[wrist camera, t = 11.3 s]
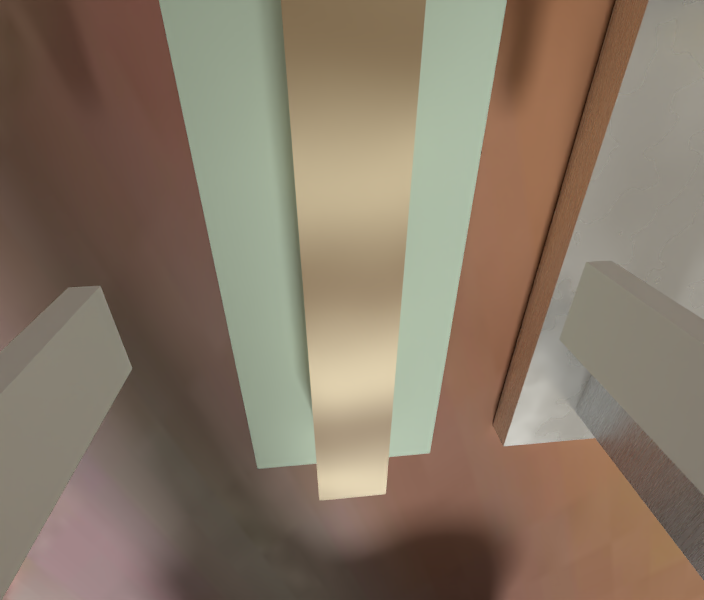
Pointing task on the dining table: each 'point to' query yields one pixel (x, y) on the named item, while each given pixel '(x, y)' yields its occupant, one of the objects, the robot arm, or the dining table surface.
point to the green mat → (281, 209)
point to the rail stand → (622, 246)
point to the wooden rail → (352, 217)
